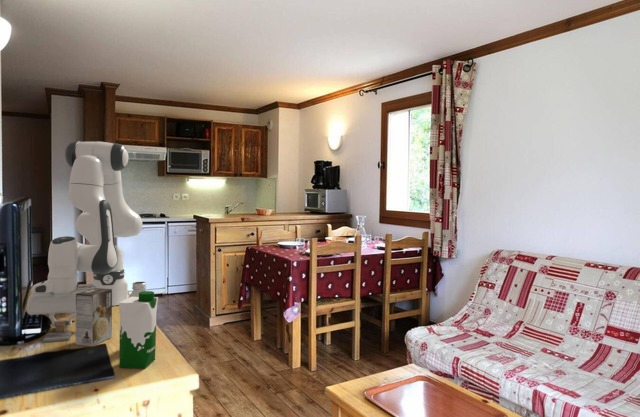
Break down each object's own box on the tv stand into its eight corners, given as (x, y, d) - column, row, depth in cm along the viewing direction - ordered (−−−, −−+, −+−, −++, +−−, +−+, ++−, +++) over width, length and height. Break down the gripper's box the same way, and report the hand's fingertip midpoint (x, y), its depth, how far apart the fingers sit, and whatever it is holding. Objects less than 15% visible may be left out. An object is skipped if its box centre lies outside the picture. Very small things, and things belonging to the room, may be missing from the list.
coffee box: (95, 335, 148) (95, 287, 148) (112, 337, 147) (113, 288, 147) (74, 344, 139) (75, 293, 139) (92, 346, 138) (93, 294, 138)
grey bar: (53, 326, 156) (53, 318, 156) (75, 325, 159) (75, 317, 159) (43, 342, 141) (43, 332, 140) (68, 340, 143) (68, 331, 143)
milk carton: (146, 370, 121) (148, 296, 121) (113, 369, 121) (115, 295, 121) (159, 358, 130) (161, 289, 129) (128, 357, 130) (129, 288, 130)
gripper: (97, 282, 159) (97, 320, 160) (30, 284, 152) (29, 325, 152) (96, 285, 153) (95, 325, 154) (25, 288, 146) (25, 330, 146)
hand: (62, 325), depth 153 cm, fingers closed on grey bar, 2 cm apart
